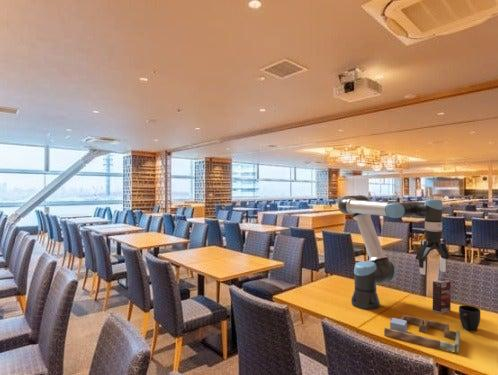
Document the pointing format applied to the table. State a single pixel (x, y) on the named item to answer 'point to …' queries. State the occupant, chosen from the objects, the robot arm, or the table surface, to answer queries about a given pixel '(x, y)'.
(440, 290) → the supplement box
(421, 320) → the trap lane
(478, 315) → the mug
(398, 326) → the block
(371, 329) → the table surface
